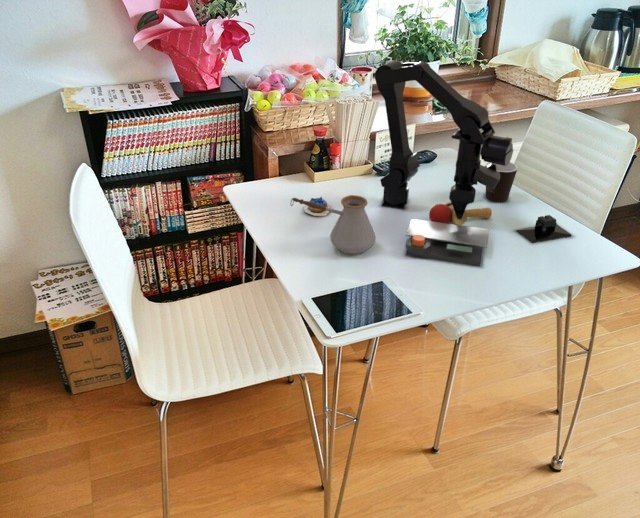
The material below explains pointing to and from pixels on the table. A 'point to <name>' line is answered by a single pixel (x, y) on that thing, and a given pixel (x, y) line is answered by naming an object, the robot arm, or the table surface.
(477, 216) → the kendama
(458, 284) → the table surface
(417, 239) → the button
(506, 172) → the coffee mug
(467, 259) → the scale
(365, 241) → the coffee pot
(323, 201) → the dessert
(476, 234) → the pan
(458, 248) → the scale display
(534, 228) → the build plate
